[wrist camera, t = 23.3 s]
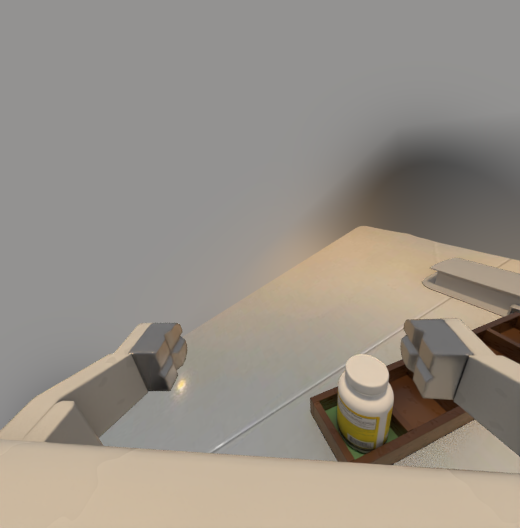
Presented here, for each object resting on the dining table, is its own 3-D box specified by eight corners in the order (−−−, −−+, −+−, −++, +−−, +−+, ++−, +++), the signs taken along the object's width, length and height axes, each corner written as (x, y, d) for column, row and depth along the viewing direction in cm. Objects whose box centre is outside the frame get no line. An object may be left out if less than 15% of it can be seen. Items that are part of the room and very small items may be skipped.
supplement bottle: (365, 400, 31) (372, 343, 27) (398, 444, 27) (412, 382, 22) (327, 415, 30) (328, 357, 26) (354, 463, 26) (361, 402, 21)
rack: (310, 412, 31) (309, 397, 30) (510, 324, 41) (516, 311, 40) (352, 486, 24) (353, 471, 23) (582, 360, 34) (592, 344, 33)
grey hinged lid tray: (574, 343, 36) (586, 322, 35) (416, 283, 55) (419, 268, 53) (601, 304, 43) (612, 285, 41) (452, 262, 61) (455, 248, 59)
